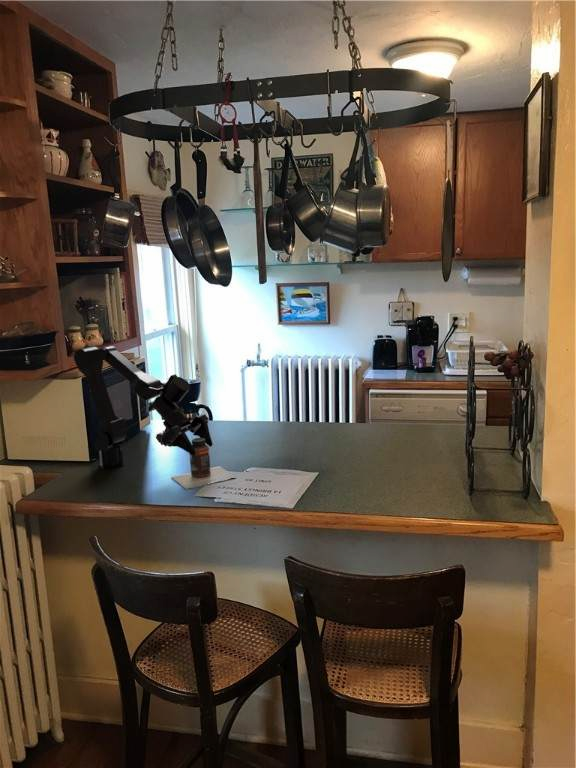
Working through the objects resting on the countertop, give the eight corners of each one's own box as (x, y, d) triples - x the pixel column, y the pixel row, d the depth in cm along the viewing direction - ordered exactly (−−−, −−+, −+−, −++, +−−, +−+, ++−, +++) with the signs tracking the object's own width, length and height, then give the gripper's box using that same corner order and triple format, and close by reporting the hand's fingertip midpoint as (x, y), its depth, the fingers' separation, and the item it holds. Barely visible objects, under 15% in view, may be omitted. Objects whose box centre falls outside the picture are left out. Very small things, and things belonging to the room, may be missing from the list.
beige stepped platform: (185, 489, 178) (185, 488, 178) (171, 478, 188) (171, 476, 188) (236, 478, 186) (235, 476, 186) (219, 467, 196) (219, 466, 196)
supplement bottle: (214, 473, 190) (212, 437, 188) (204, 479, 184) (201, 443, 182) (197, 471, 192) (195, 436, 190) (187, 477, 187) (184, 441, 185)
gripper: (173, 421, 200) (205, 457, 198) (137, 437, 183) (171, 476, 181) (192, 399, 195) (225, 435, 193) (157, 412, 179) (192, 453, 176)
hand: (203, 450), depth 186 cm, fingers open, 9 cm apart
